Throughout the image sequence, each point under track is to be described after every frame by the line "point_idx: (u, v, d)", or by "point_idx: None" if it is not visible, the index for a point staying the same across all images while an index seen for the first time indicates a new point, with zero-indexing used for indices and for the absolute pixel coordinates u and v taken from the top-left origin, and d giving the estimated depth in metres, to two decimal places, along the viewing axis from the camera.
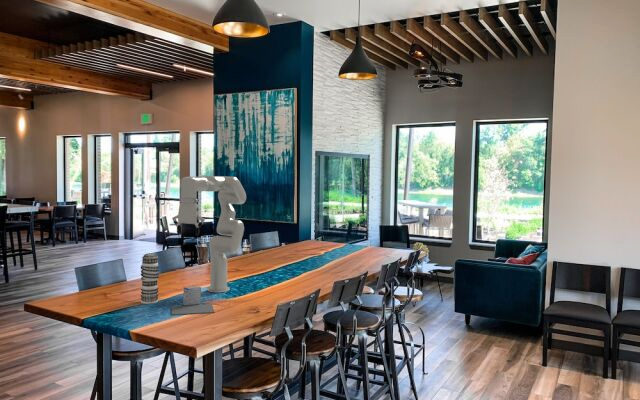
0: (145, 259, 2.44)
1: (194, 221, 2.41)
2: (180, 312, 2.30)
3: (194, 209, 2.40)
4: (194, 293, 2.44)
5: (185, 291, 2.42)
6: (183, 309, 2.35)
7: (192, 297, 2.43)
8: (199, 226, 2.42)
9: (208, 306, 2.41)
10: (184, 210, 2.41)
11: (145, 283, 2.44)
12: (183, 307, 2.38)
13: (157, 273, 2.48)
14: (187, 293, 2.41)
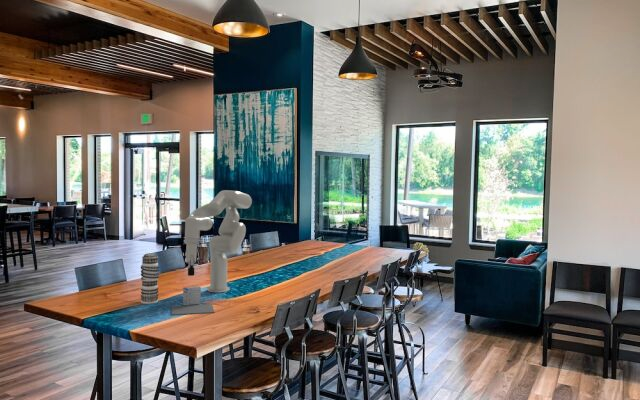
0: (145, 259, 2.44)
1: None
2: (180, 312, 2.30)
3: None
4: (194, 293, 2.44)
5: (185, 291, 2.42)
6: (183, 309, 2.35)
7: (192, 297, 2.43)
8: None
9: (208, 306, 2.41)
10: None
11: (145, 283, 2.44)
12: (183, 307, 2.38)
13: (157, 273, 2.48)
14: (187, 293, 2.41)
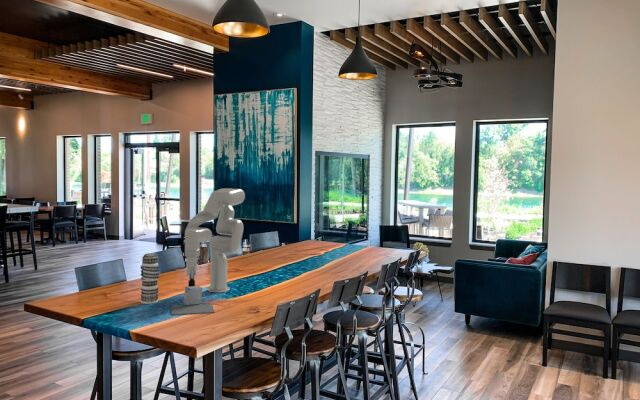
0: (145, 259, 2.44)
1: None
2: (180, 312, 2.30)
3: None
4: (195, 293, 2.43)
5: (186, 291, 2.42)
6: (183, 309, 2.35)
7: (193, 297, 2.43)
8: None
9: (208, 306, 2.41)
10: None
11: (145, 283, 2.44)
12: (183, 307, 2.38)
13: (157, 273, 2.48)
14: (188, 293, 2.41)
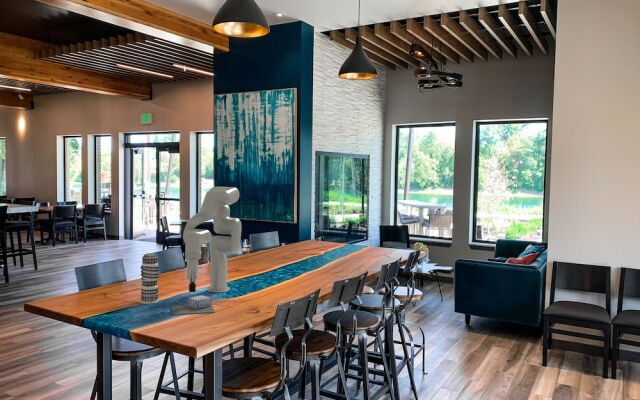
0: (145, 259, 2.44)
1: None
2: (180, 312, 2.30)
3: None
4: None
5: (196, 303, 2.36)
6: (183, 309, 2.35)
7: None
8: None
9: None
10: None
11: (145, 283, 2.44)
12: (183, 307, 2.38)
13: (157, 273, 2.48)
14: (195, 306, 2.37)
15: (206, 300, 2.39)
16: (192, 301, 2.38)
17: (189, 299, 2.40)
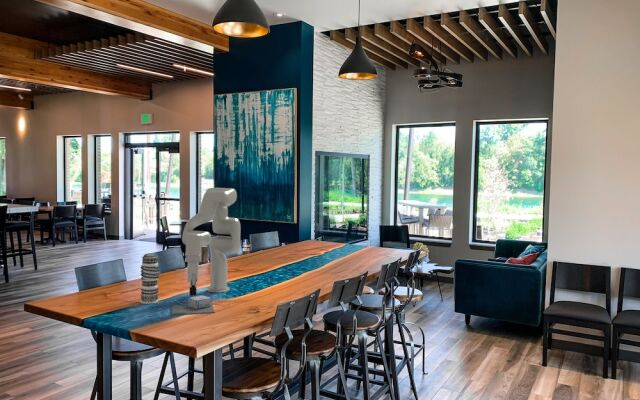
0: (145, 259, 2.44)
1: None
2: (180, 312, 2.30)
3: None
4: None
5: (196, 303, 2.36)
6: (183, 309, 2.35)
7: None
8: None
9: None
10: None
11: (145, 283, 2.44)
12: (183, 307, 2.38)
13: (157, 273, 2.48)
14: (195, 306, 2.37)
15: (206, 300, 2.39)
16: (192, 301, 2.38)
17: (189, 299, 2.40)
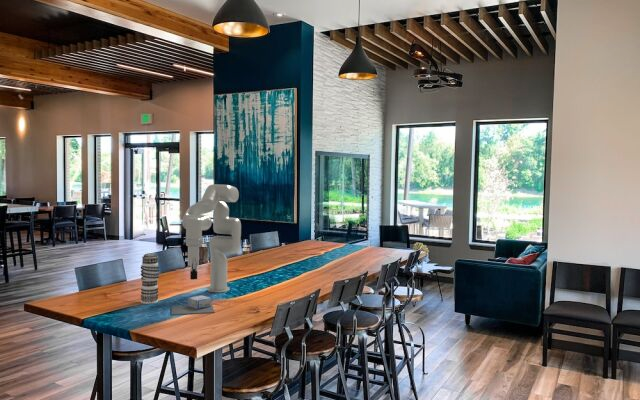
0: (145, 259, 2.44)
1: None
2: (180, 312, 2.30)
3: None
4: None
5: (196, 303, 2.36)
6: (183, 309, 2.35)
7: None
8: None
9: None
10: None
11: (145, 283, 2.44)
12: (183, 307, 2.38)
13: (157, 273, 2.48)
14: (195, 306, 2.37)
15: (206, 300, 2.39)
16: (192, 301, 2.38)
17: (189, 299, 2.40)
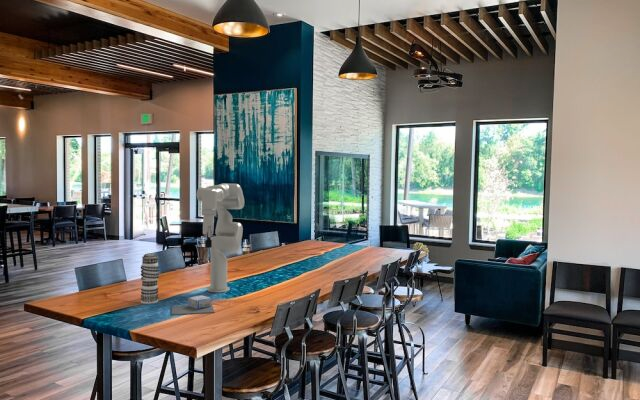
0: (145, 259, 2.44)
1: None
2: (180, 312, 2.30)
3: None
4: None
5: (196, 303, 2.36)
6: (183, 309, 2.35)
7: None
8: None
9: None
10: None
11: (145, 283, 2.44)
12: (183, 307, 2.38)
13: (157, 273, 2.48)
14: (195, 306, 2.37)
15: (206, 300, 2.39)
16: (192, 301, 2.38)
17: (189, 299, 2.40)
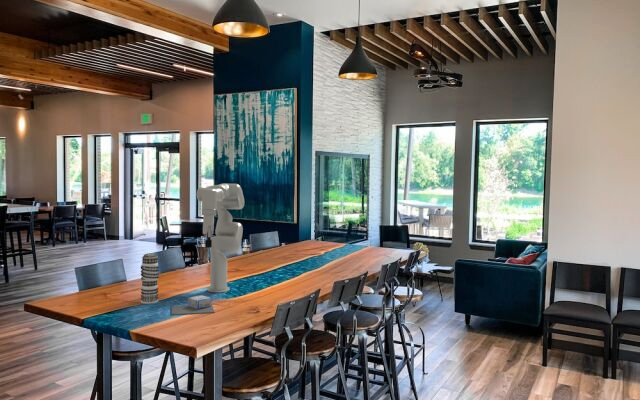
0: (145, 259, 2.44)
1: None
2: (180, 312, 2.30)
3: None
4: None
5: (196, 303, 2.36)
6: (183, 309, 2.35)
7: None
8: None
9: None
10: None
11: (145, 283, 2.44)
12: (183, 307, 2.38)
13: (157, 273, 2.48)
14: (195, 306, 2.37)
15: (206, 300, 2.39)
16: (192, 301, 2.38)
17: (189, 299, 2.40)
